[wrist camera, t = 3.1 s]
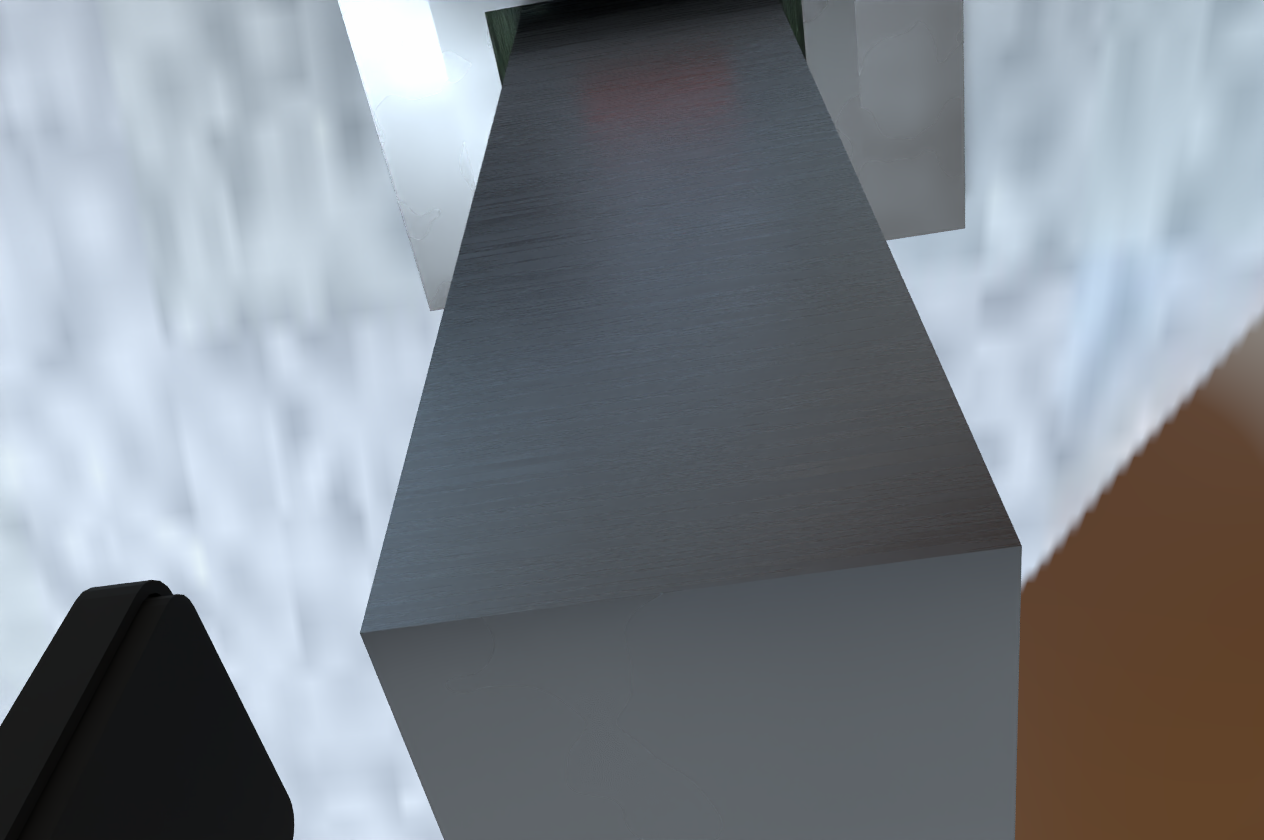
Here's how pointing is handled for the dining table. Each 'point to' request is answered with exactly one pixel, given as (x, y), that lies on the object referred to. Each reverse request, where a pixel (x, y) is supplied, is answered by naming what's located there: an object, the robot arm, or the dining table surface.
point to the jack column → (691, 474)
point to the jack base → (825, 31)
